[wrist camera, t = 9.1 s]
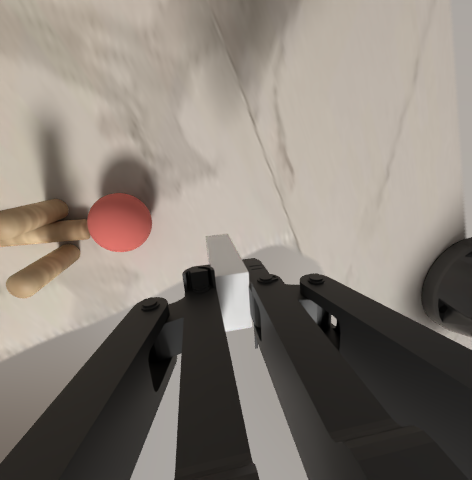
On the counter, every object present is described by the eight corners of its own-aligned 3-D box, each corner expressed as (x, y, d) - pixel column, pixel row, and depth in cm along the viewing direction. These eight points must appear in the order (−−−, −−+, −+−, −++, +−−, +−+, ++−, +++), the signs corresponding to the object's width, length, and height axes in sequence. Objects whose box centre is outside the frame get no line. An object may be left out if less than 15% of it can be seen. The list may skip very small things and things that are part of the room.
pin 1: (70, 203, 27) (19, 218, 19) (65, 222, 28) (13, 243, 20) (48, 195, 27) (-14, 207, 19) (43, 214, 27) (-19, 234, 19)
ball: (65, 212, 25) (117, 210, 30) (90, 267, 24) (138, 255, 30) (97, 179, 22) (148, 183, 27) (125, 239, 22) (172, 231, 27)
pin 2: (82, 247, 29) (39, 278, 21) (77, 264, 29) (33, 301, 21) (61, 241, 28) (9, 270, 20) (56, 258, 29) (3, 294, 21)
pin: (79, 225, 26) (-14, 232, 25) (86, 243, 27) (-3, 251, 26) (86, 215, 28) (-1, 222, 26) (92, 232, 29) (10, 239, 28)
